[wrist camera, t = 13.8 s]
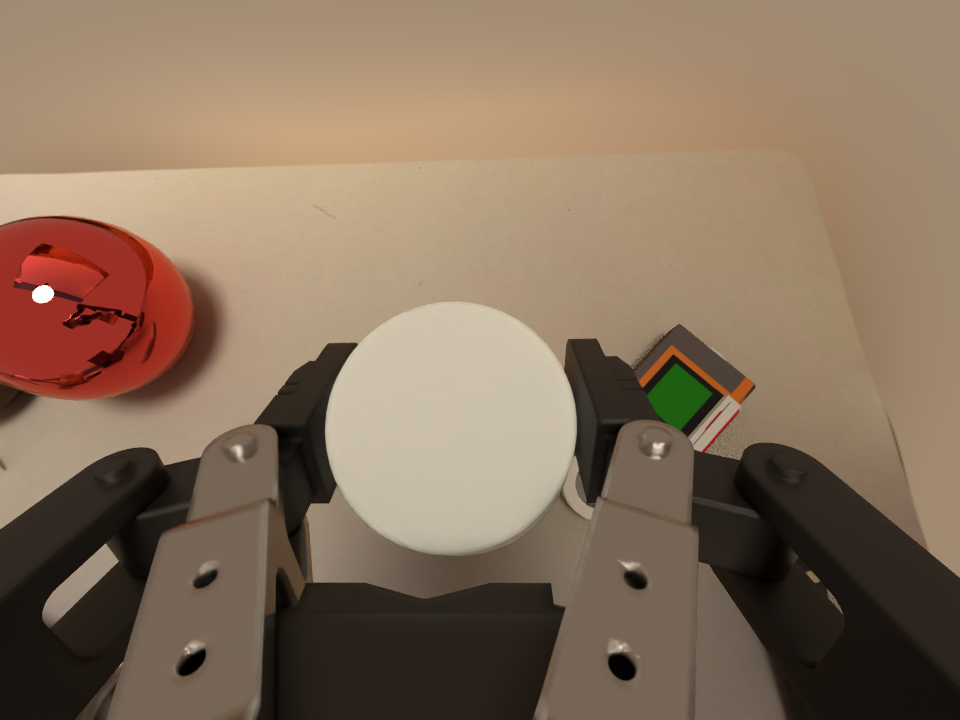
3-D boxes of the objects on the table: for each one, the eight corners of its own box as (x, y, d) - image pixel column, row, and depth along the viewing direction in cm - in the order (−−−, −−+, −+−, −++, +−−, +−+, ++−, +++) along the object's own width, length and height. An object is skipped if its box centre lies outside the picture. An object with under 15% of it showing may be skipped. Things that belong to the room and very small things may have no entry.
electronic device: (539, 476, 28) (684, 318, 29) (536, 474, 30) (669, 330, 32) (619, 554, 26) (766, 383, 28) (608, 544, 29) (742, 390, 31)
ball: (249, 279, 35) (124, 184, 23) (202, 422, 32) (33, 395, 20) (116, 261, 36) (-69, 160, 24) (59, 398, 33) (-182, 360, 21)
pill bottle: (378, 439, 17) (231, 400, 8) (483, 352, 18) (467, 220, 9) (465, 553, 16) (418, 674, 7) (573, 454, 17) (674, 434, 7)
